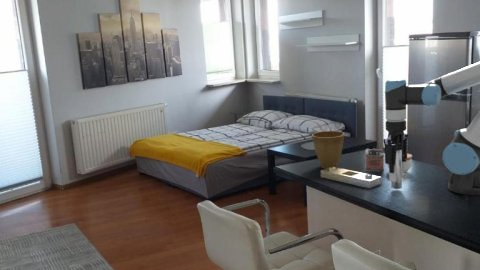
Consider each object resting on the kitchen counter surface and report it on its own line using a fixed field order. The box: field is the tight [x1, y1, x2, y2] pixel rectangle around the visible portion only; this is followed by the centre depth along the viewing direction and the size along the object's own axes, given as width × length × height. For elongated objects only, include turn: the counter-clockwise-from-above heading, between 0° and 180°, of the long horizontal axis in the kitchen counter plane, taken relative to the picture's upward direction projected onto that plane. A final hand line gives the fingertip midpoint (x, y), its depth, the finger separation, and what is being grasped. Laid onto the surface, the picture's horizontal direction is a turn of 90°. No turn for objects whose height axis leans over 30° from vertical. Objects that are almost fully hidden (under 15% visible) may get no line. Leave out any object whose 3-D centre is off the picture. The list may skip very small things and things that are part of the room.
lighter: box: [365, 148, 385, 172], centre depth 218 cm, size 8×3×10 cm, turn 62°
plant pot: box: [311, 130, 345, 169], centre depth 228 cm, size 15×15×16 cm
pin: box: [390, 149, 403, 190], centre depth 188 cm, size 4×4×15 cm
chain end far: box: [320, 166, 362, 182], centre depth 210 cm, size 16×8×4 cm, turn 39°
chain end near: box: [338, 172, 382, 189], centre depth 202 cm, size 16×8×4 cm, turn 39°
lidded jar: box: [386, 152, 413, 175], centre depth 213 cm, size 11×11×9 cm
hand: (396, 179), depth 189 cm, fingers closed on pin, 4 cm apart
